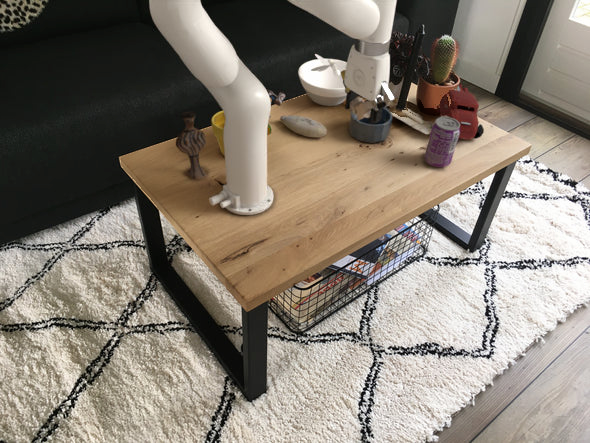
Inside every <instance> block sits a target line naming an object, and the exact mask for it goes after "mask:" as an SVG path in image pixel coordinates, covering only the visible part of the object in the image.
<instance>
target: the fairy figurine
mask: <svg viewBox="0 0 590 443" xmlns="http://www.w3.org/2000/svg"><path fill="white" fill-rule="evenodd" d="M314 55H315V57H316V58H317V59H319V60H321V63H322V64H324V66H319V67H316V68H313V69H311V71H318V72H321V71H324V70H326V69H327V68H328V67H329V66H330V68H331V69H332V70H333V72H334V73H333V74H334V76H335V77H339V76H340V71H339V70H337V68H336V67H337V66H336V64H334V63H338V62H333V61H332V59H333V58H328V59H329V60H328V61H326V60H325V59H326V58H324V57H322V56H321V55H319V54H317V53H314ZM333 67H334V68H333Z"/></svg>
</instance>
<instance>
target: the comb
mask: <svg viewBox="0 0 590 443" xmlns="http://www.w3.org/2000/svg"><path fill="white" fill-rule="evenodd" d="M406 108H407V107H406ZM407 109H408V111H407V110H402V113H404V114H405V115H406V116H407V118H406V117H400V116H398V115H397V114H395V113H392V112H393V111H392V112H391V111H390V112H391V113H392V117H395V118H396V119H398V120H400V121H402V122H403V123H405V124H406V125H408V126H409V127H411V128H412V129H415V130H417V131H418V132H421V133H422V134H425V135H426V136H427V135H430V133H431V130H432V126H433V124H434V123H435V122H432V120H431V121H430V120H429V121H426V120H424V119H423V118H424V117H423V116H421V115H420V114H418V113H416V112H414V111H412V109H409V108H407ZM410 112H411V113H410ZM412 113H413V114H412ZM415 115H416V116H415Z"/></svg>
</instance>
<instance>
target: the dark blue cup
mask: <svg viewBox="0 0 590 443" xmlns="http://www.w3.org/2000/svg"><path fill="white" fill-rule="evenodd" d="M349 116H350V117H349V124H348V133H349V134H350V135H351V137H353V138H354V139H355V140H357V141H360V142H363V143H371V144H373V143H381V142H383V141H385V140H387V139H388V138H389V136H390V133H391V129H392V123H393V116H392V113H391V111H390V110H389V109H388V108H386V107H384V108H382V114H381V119H380V121H379V122H377V123H375V124H372V125H371V124H369V120H370V117H369V118H366V117H364V118H362V119H360V120H358V119H357V114H356V115H354V114H353V112H352V111H350V115H349Z"/></svg>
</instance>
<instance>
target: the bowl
mask: <svg viewBox="0 0 590 443" xmlns="http://www.w3.org/2000/svg"><path fill="white" fill-rule="evenodd" d="M324 59H325V60H326V61H328V60H329V59H330V58H324ZM331 59H332V61H333V62H338V63H334V64H336V66H337V67H336V68H337V70H339V71H340V72H341V71H343V70H346V65H347V61H344V60H340V59H335V58H331ZM319 66H324V64H322V63H321V60H319V59H318V58H317V59H312V60H309V61H306V62H304V63H303V64H301V65H300V67H299V68H298V71H297V72H298V73H297V74H298V77H299V80H300V83H301V86H302V87H303V89H304V91H305V92H306V95H308V97H309V98H310V99H311V100H312V101H313V102H314V103H316V104H318V105H321V106H325V107H335V106H338V105H341V104H343V103H344V102H345V101H346V95H347V94H346V93H345V86H344V84H343V79H342V76H341V73H340V76H339V77H335V76H334V74H333V73H334V72H333V70H332V69H331V68H330V66H329V67H328V68H327V69H326V70H324V71H321V72H318V71H311V69H313V68H316V67H319ZM333 68H334V67H333Z"/></svg>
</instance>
